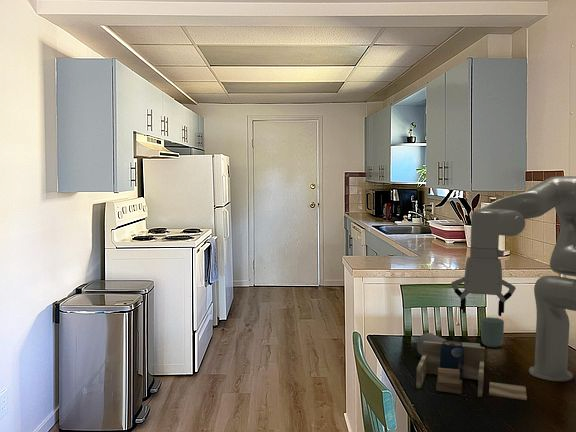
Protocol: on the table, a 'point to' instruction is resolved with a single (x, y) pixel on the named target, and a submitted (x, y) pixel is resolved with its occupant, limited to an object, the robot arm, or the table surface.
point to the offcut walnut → (449, 387)
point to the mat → (507, 391)
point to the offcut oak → (448, 375)
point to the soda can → (452, 356)
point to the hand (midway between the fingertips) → (481, 313)
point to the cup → (492, 331)
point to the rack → (471, 363)
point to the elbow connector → (434, 338)
